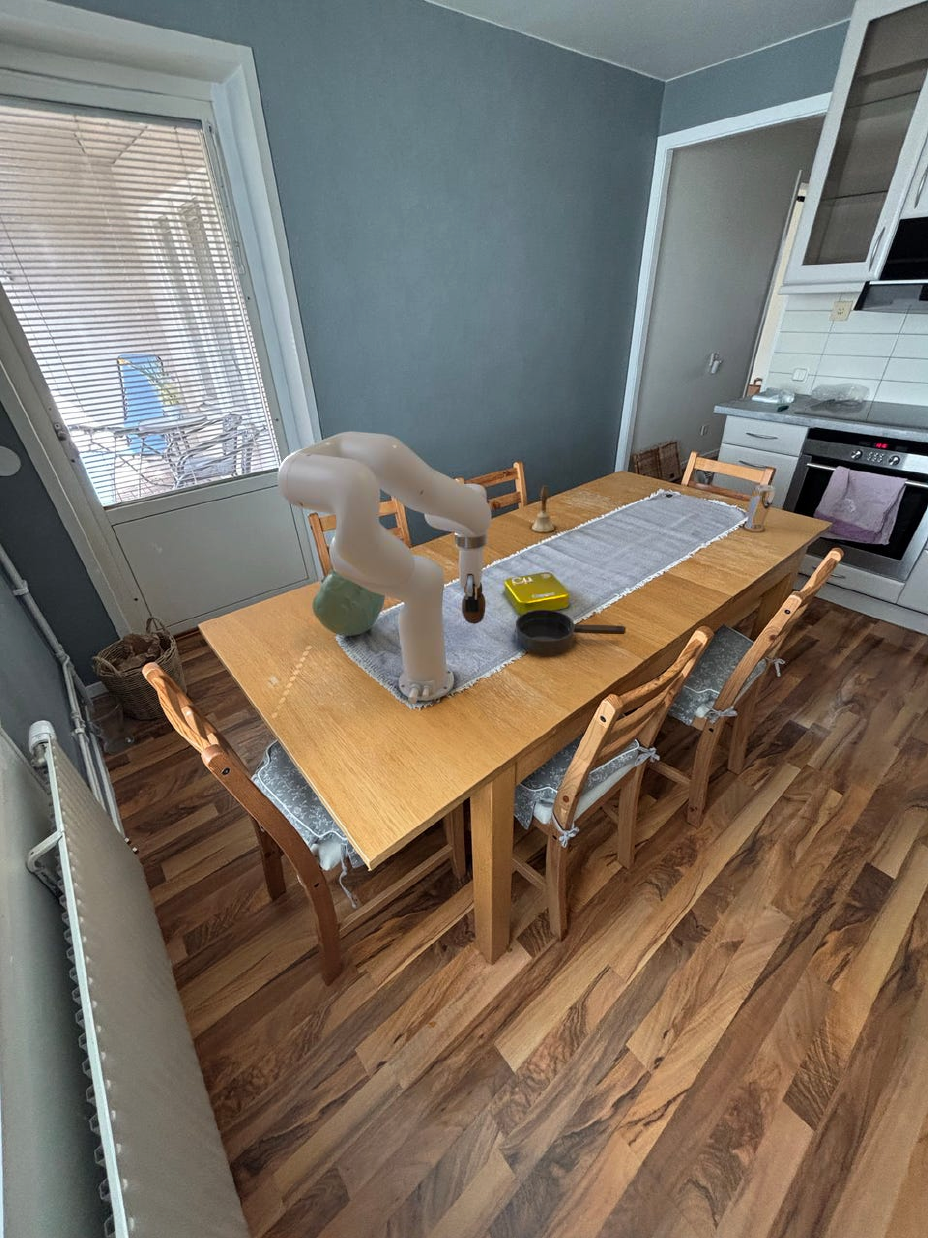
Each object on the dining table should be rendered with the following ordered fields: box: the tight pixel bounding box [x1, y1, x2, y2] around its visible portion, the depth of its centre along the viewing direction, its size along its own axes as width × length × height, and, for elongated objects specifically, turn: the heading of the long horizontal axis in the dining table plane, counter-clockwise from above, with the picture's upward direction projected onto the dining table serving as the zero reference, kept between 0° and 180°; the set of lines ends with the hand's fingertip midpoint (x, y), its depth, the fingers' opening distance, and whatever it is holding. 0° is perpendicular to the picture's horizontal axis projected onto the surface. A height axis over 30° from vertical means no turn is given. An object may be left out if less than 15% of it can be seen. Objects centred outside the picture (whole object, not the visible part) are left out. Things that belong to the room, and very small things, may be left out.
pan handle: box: [574, 623, 627, 635], centre depth 125 cm, size 2×13×1 cm, turn 83°
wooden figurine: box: [461, 577, 487, 625], centre depth 126 cm, size 7×6×15 cm
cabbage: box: [312, 568, 386, 637], centre depth 129 cm, size 16×19×20 cm
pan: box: [514, 609, 575, 657], centre depth 127 cm, size 15×15×4 cm
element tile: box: [504, 571, 570, 616], centre depth 144 cm, size 15×15×5 cm
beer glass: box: [743, 484, 777, 532], centre depth 177 cm, size 7×7×15 cm
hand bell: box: [531, 485, 555, 533], centre depth 185 cm, size 8×8×16 cm
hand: (473, 603), depth 127 cm, fingers closed on wooden figurine, 6 cm apart
